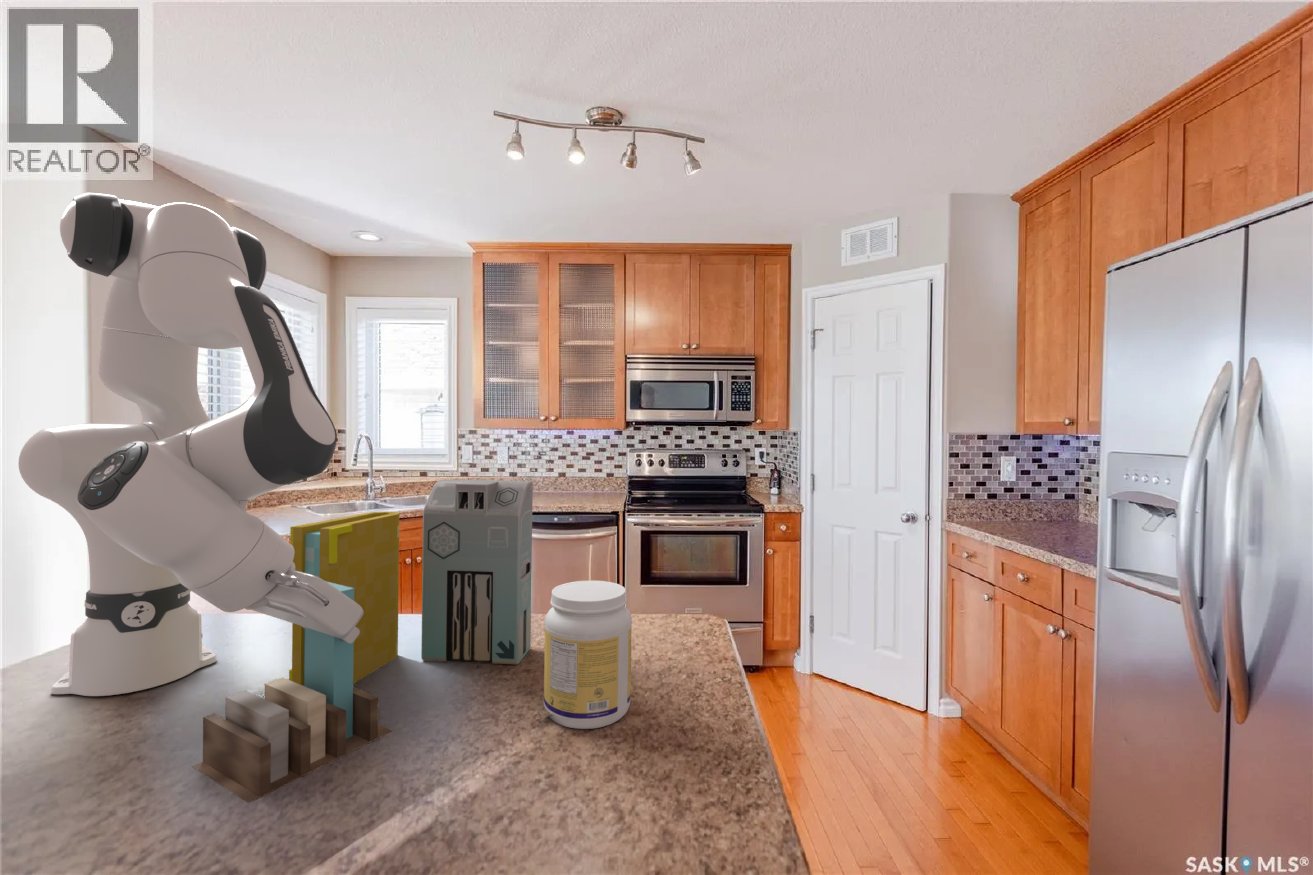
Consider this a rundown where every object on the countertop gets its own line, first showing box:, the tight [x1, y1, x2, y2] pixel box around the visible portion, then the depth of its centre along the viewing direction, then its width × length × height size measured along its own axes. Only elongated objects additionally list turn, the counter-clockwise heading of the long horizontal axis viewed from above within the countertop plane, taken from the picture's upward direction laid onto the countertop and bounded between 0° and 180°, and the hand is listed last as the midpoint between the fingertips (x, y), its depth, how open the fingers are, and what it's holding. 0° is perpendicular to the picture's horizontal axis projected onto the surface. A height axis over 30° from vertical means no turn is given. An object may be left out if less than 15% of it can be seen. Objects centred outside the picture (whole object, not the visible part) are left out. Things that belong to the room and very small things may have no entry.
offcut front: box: [224, 689, 289, 783], centre depth 62 cm, size 9×2×7 cm, turn 61°
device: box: [420, 478, 534, 666], centre depth 98 cm, size 16×8×30 cm, turn 87°
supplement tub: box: [543, 580, 633, 730], centre depth 79 cm, size 12×12×17 cm
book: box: [288, 511, 400, 686], centre depth 87 cm, size 17×7×25 cm, turn 168°
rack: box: [191, 686, 393, 804], centre depth 66 cm, size 12×16×6 cm
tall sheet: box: [305, 582, 354, 739], centre depth 69 cm, size 6×2×18 cm, turn 61°
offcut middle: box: [263, 676, 326, 764], centre depth 66 cm, size 9×2×7 cm, turn 61°
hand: (334, 631), depth 70 cm, fingers closed on tall sheet, 6 cm apart
